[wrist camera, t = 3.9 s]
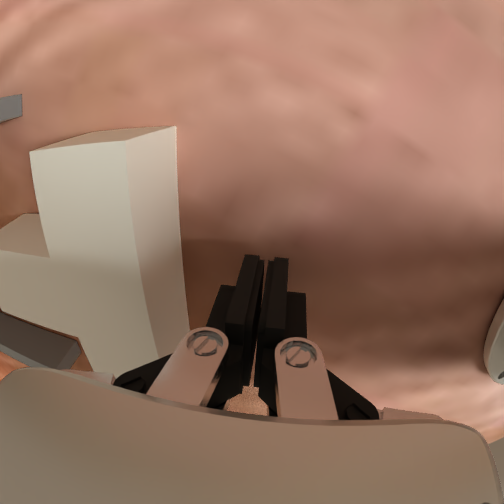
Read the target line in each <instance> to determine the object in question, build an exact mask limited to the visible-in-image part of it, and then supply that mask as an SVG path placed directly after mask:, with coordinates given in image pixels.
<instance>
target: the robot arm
mask: <svg viewBox="0 0 504 504" xmlns="http://www.w3.org/2000/svg"><path fill="white" fill-rule="evenodd" d="M288 260H289V259H288V258H278V257H275V259H274V261H270V260H269V262H268V269H267V275H266V281H265V287H264V294H263V300H262V289H263V275H264V260H260V259H259V256H257V255H245V257H244V260H243V263H242V267H241V270H240V273H239V277H238V280H237V283H236V286H228V285H221V287H220V289H219V292H218V295H217V297H216V300H215V303H214V305H213V308H212V311H211V314H210V316H209V319H208V322H207V324H206V327H200V328H196V329H193V330H191V331H190V332H188V333H187V334H186V335H185V336H184V337H183V339H182V340H181V342H180V343H179V345H178V346H177V348H176V349H175V351H174V352H173V353H172V354H169V355H167V356H165V357H162V358H160V359H157V360H155V361H152V362H150V363H148V364H145V365H143V366H140V367H138V368H135V369H133V370H130V371H127V372H125V373H123V374H122V375H120V376H119V377H115V376H114V374H112V373H100V372H90V371H80V370H72V369H62V370H57V369H52V368H44V367H26V368H20V369H17V370H14V371H12V372H11V373H9V374H8V375H7V376H5V377H4V378H3V379H2V380H1V381H0V504H504V499H503V493H502V488H501V483H500V479H499V475H498V471H497V467H496V464H495V461H494V458H493V455H492V453H491V450H490V448H489V446H488V444H487V442H486V440H485V439H484V437H483V436H482V435H481V434H480V433H479V432H478V431H477V430H475V429H474V428H472V427H469V426H467V425H464V424H461V423H457V422H453V421H449V420H443V419H442V418H441V417H439V416H437V415H434V414H427V413H419V412H412V411H405V410H398V409H392V408H386V407H384V409H383V410H379V409H376V407H375V406H374V405H373V404H372V403H371V402H369V401H368V400H367V399H365V398H364V397H363V396H361V395H360V394H359V393H357V392H356V391H355V390H353V389H352V388H351V387H350V386H348V385H347V384H346V383H344V382H343V381H342V380H340V379H339V378H338V377H336V376H335V375H334V374H333V373H331V372H330V371H329V370H327V369H326V366H325V362H324V359H323V355H322V352H321V350H320V348H319V347H318V346H317V345H316V343H314V342H312V341H311V340H308V339H307V324H306V294H305V293H297V292H287V282H288ZM261 303H262V306H261ZM256 342H257V349H256V362H255V375H254V387H259V393H258V396H259V397H260V398H261V399H262V400H263V401H264V402H265V403H266V404H267V416H263V415H254V414H246V413H239V412H232V411H227V408H228V406H229V402H230V399H231V398H232V397H234V396H236V395H238V394H242V390H243V386H249V383H250V378H251V372H252V366H253V360H254V354H255V348H256ZM483 357H484V363H485V366H486V368H487V371H488V373H489V375H490V377H491V378H492V380H493V381H494V382H497V383H499V384H504V299H503V301H502V303H501V305H500V307H499V308H498V310H497V312H496V314H495V317H494V319H493V321H492V324H491V326H490V328H489V331H488V335H487V338H486V341H485V345H484V355H483Z"/></svg>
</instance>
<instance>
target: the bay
mask: <svg viewBox="0 0 504 504" xmlns="http://www.w3.org/2000/svg"><path fill="white" fill-rule="evenodd" d="M20 116H22V94H20V95H14V96H8V97H2V98H0V123H2V122H5V121H8V120H11V119H14V118H17V117H20ZM0 351H1V352H3V353H5V354H7V355H8V356H10V357H12V358H14V359H16V360H18V361H20V362H22V363H24V364H26V365H28V366H30V367H44V368H52V369H57V370H62V369H70V368H71V367H72V365H73V364H74V362H75V361H76V359H77V358H78V356H79V355H80V354H81V351H80V348H79V346H78V344H77V342H76V341H75V340H72V339H69V338H66V337H63V336H60V335H57V334H54V333H52V332H49V331H46V330H43V329H41V328H38V327H35V326H33V325H30V324H28V323H25V322H23V321H20V320H18V319H15V318H13V317H10V316H8V315H6V314H3V313H1V312H0Z"/></svg>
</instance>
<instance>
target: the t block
mask: <svg viewBox="0 0 504 504" xmlns="http://www.w3.org/2000/svg"><path fill="white" fill-rule="evenodd" d="M29 154H30V162H31V170H32V177H33V183H34V189H35V195H36V200H37V205H38V210H39V214H28V213H24V214H22V215H21V216H19V217H18V218H16V219H15V220H13V221H11V222H10V223H8V224H7V225H5V226H4V227H2V228H1V229H0V308H1V310H2V311H3V312H6V313H8V314H11V315H13V316H16V317H19V318H21V319H24V320H27V321H30V322H32V323H35V324H38V325H41V326H44V327H47V328H50V329H53V330H56V331H59V332H62V333H65V334H69V335H72V336H75V337H78V338H79V340H80V343H81V345H82V347H83V350H84V352H85V354H86V356H87V358H88V360H89V363H90V365H91V367H92V369H93V371H94V372H100V373H112V374H114V376H115V377H119V376H120V375H122V374H123V373H125V372H127V371H130V370H133V369H135V368H138V367H140V366H143V365H145V364H148V363H150V362H152V361H155V360H157V359H160V358H162V357H165V356H167V355H169V354H172V353H173V352H174V351H175V349H176V348H177V346H178V345H179V343H180V342H181V340H182V339H183V337H184V336H185V335H186V334H187V333H188V332H190V327H189V319H188V310H187V301H186V292H185V282H184V271H183V260H182V248H181V234H180V219H179V201H178V179H177V142H176V126H158V127H140V128H127V129H115V130H105V131H96V132H91V133H87V134H83V135H80V136H76V137H73V138H70V139H66V140H63V141H60V142H57V143H53V144H50V145H47V146H44V147H41V148H39V149H36V150H33V151H30V152H29Z"/></svg>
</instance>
